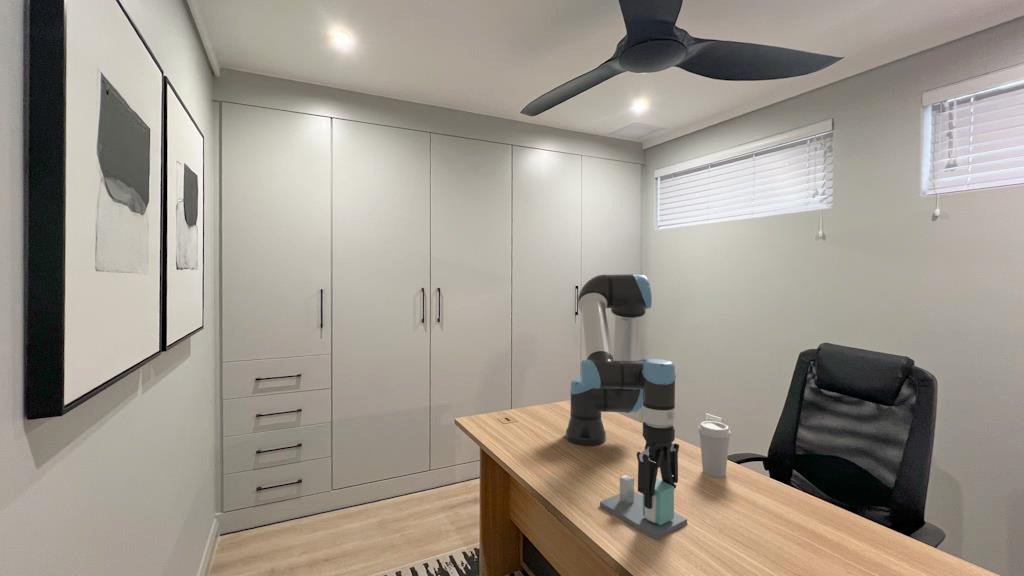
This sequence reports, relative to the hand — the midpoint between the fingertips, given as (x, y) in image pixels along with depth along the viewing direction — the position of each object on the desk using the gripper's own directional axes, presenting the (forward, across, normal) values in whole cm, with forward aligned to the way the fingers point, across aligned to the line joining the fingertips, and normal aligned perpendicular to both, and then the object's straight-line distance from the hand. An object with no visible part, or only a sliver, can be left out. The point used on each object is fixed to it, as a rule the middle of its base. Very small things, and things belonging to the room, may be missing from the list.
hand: (658, 515), depth 105 cm
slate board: (+2, 0, +5) cm, 5 cm away
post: (+1, 0, +10) cm, 10 cm away
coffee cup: (+2, +38, +8) cm, 39 cm away
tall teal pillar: (0, 0, 0) cm, 0 cm away
